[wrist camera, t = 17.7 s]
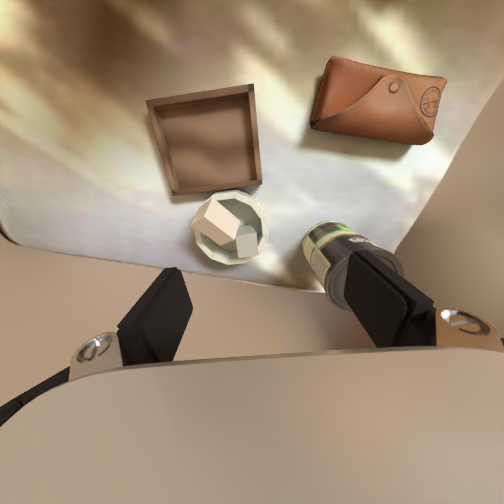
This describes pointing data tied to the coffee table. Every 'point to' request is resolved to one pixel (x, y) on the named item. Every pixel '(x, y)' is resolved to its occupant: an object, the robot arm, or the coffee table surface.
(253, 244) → the light grey block
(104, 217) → the coffee table surface
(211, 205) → the beige brick
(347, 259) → the coffee can
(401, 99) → the sunglasses case
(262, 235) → the celadon bowl
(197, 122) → the walnut tray
